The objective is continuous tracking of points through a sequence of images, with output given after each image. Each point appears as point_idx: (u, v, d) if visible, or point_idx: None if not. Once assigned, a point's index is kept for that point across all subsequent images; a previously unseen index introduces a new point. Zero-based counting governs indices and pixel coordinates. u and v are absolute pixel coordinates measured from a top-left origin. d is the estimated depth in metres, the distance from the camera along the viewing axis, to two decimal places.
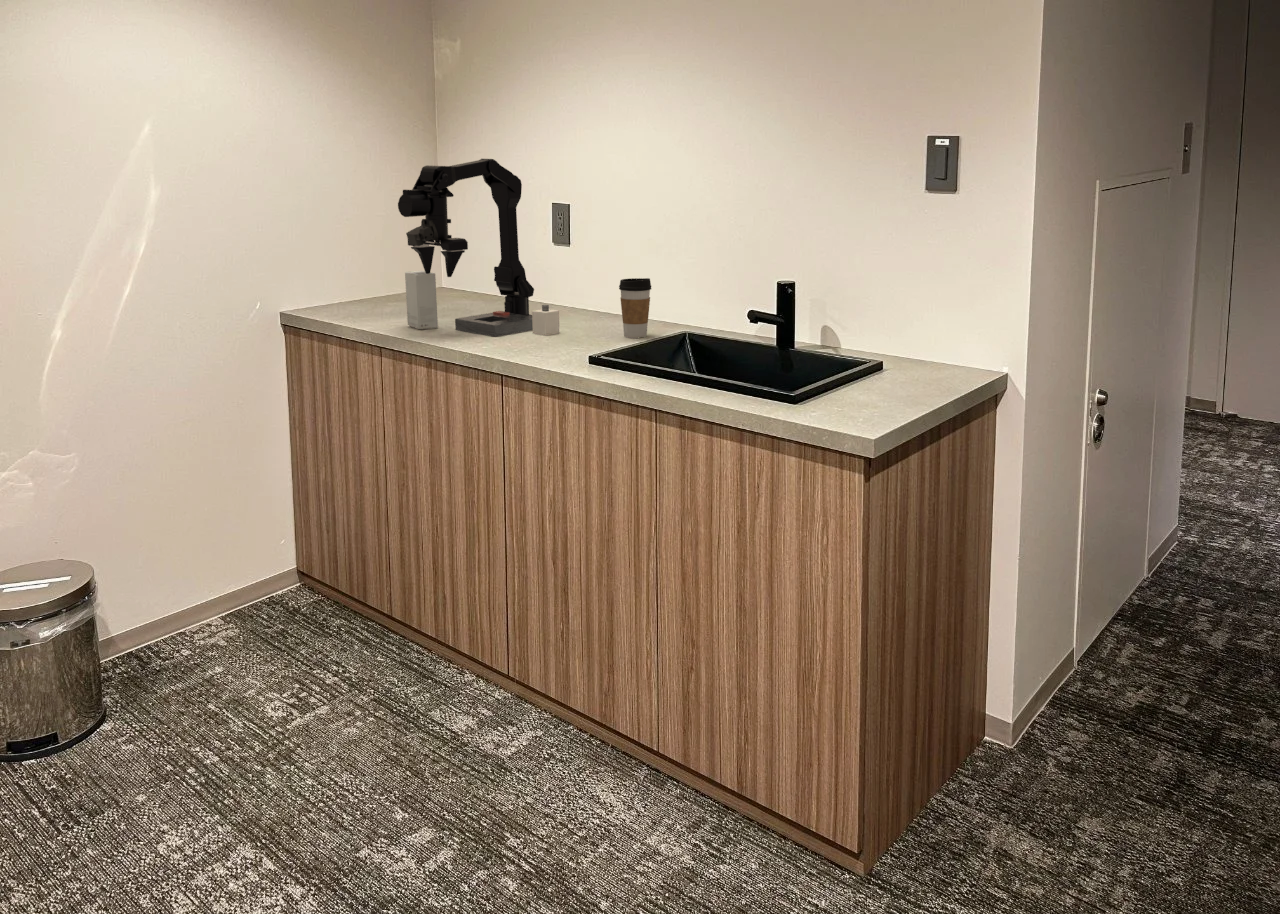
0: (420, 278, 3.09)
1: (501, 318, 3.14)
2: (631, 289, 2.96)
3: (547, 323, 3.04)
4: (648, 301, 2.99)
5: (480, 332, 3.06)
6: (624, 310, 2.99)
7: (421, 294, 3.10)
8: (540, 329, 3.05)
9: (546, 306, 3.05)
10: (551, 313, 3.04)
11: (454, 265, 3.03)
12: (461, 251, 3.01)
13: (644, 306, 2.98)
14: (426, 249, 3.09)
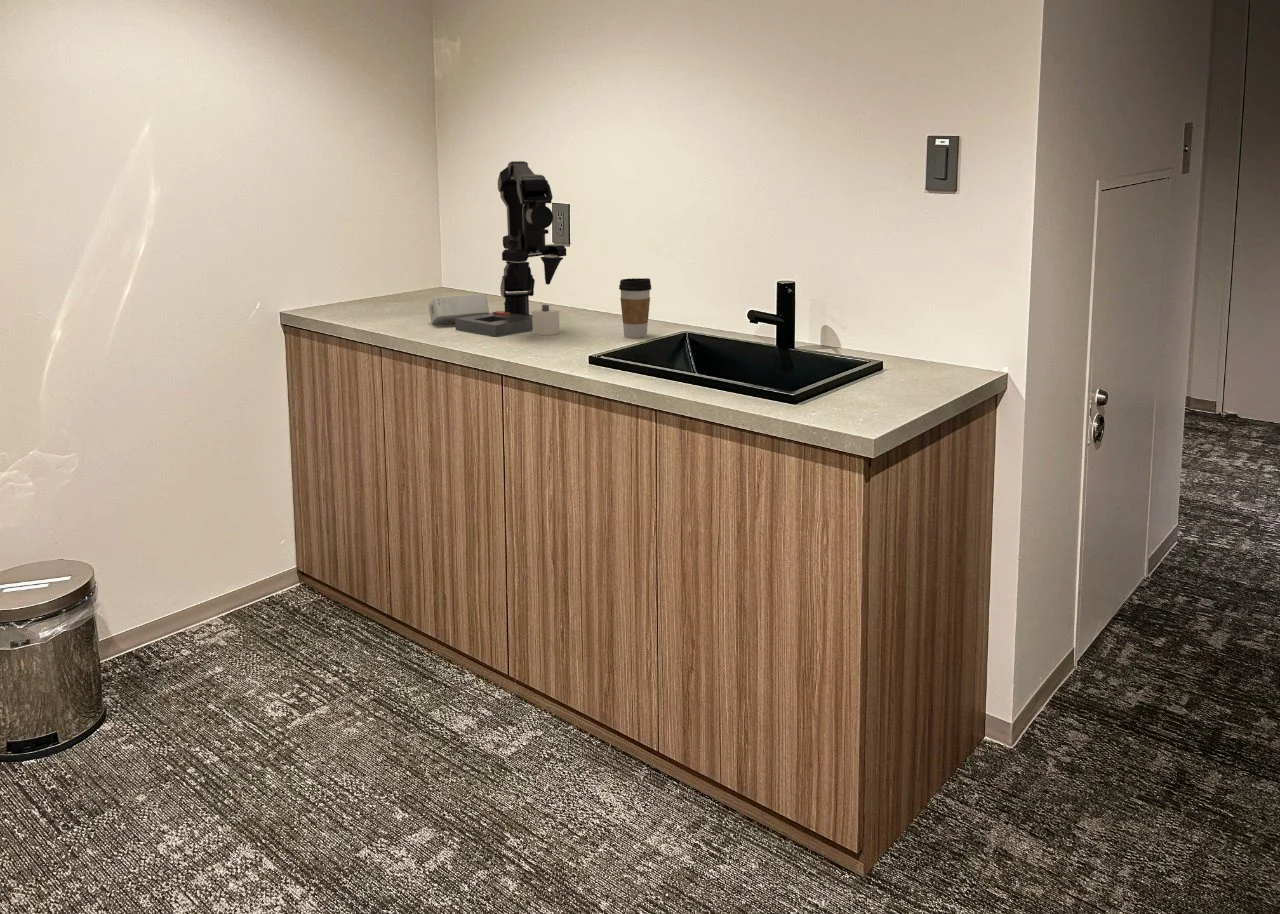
0: (482, 297, 3.20)
1: (501, 318, 3.14)
2: (631, 289, 2.96)
3: (547, 323, 3.04)
4: (648, 301, 2.99)
5: (480, 332, 3.06)
6: (624, 310, 2.99)
7: (468, 298, 3.19)
8: (540, 329, 3.05)
9: (546, 306, 3.05)
10: (551, 313, 3.04)
11: (522, 277, 2.99)
12: (517, 263, 2.96)
13: (644, 306, 2.98)
14: (548, 260, 3.06)
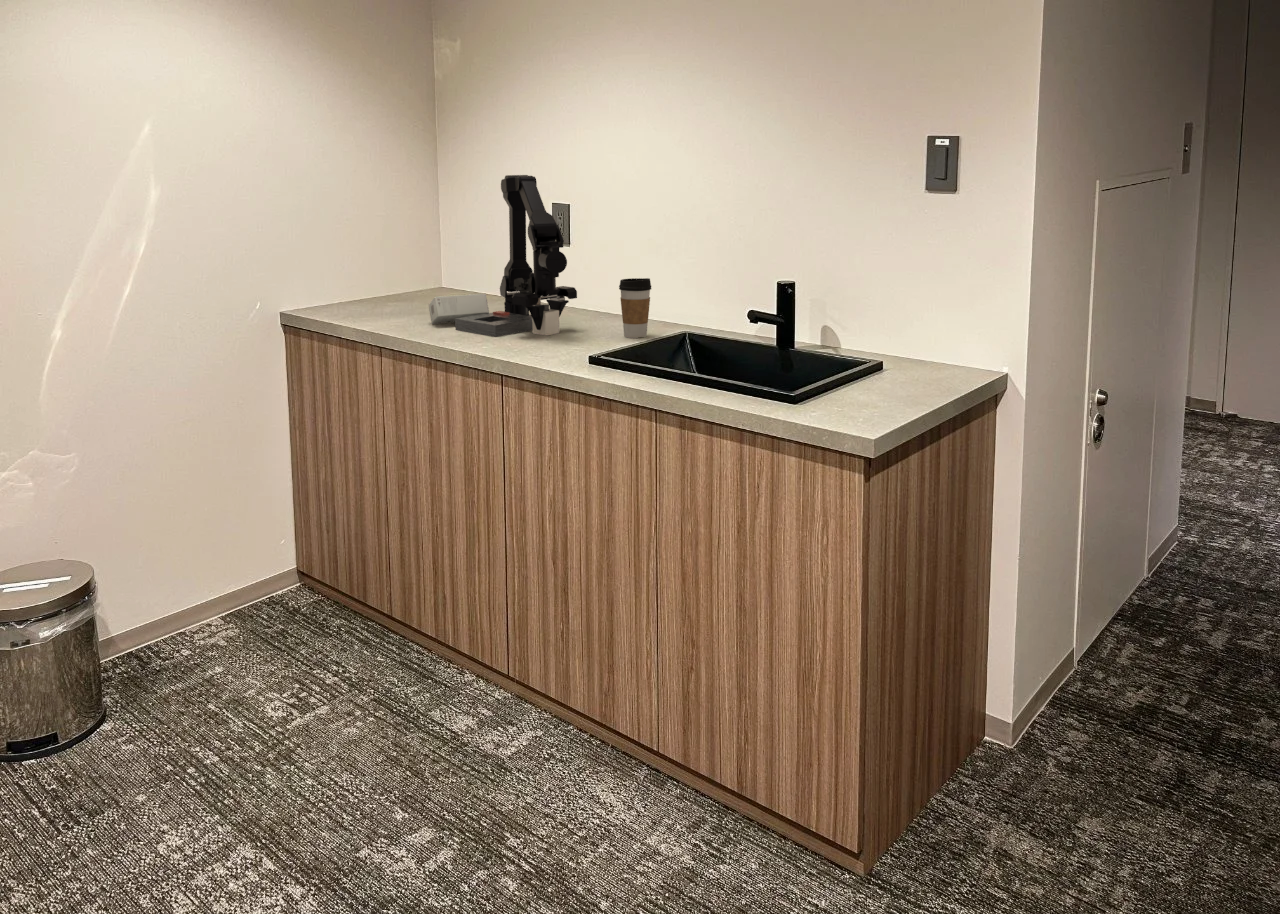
0: (482, 297, 3.20)
1: (501, 318, 3.14)
2: (631, 289, 2.96)
3: (547, 323, 3.04)
4: (648, 301, 2.99)
5: (480, 332, 3.06)
6: (624, 310, 2.99)
7: (468, 298, 3.19)
8: None
9: (546, 306, 3.05)
10: (551, 313, 3.04)
11: (538, 319, 3.03)
12: (532, 306, 3.00)
13: (644, 306, 2.98)
14: (554, 303, 3.08)
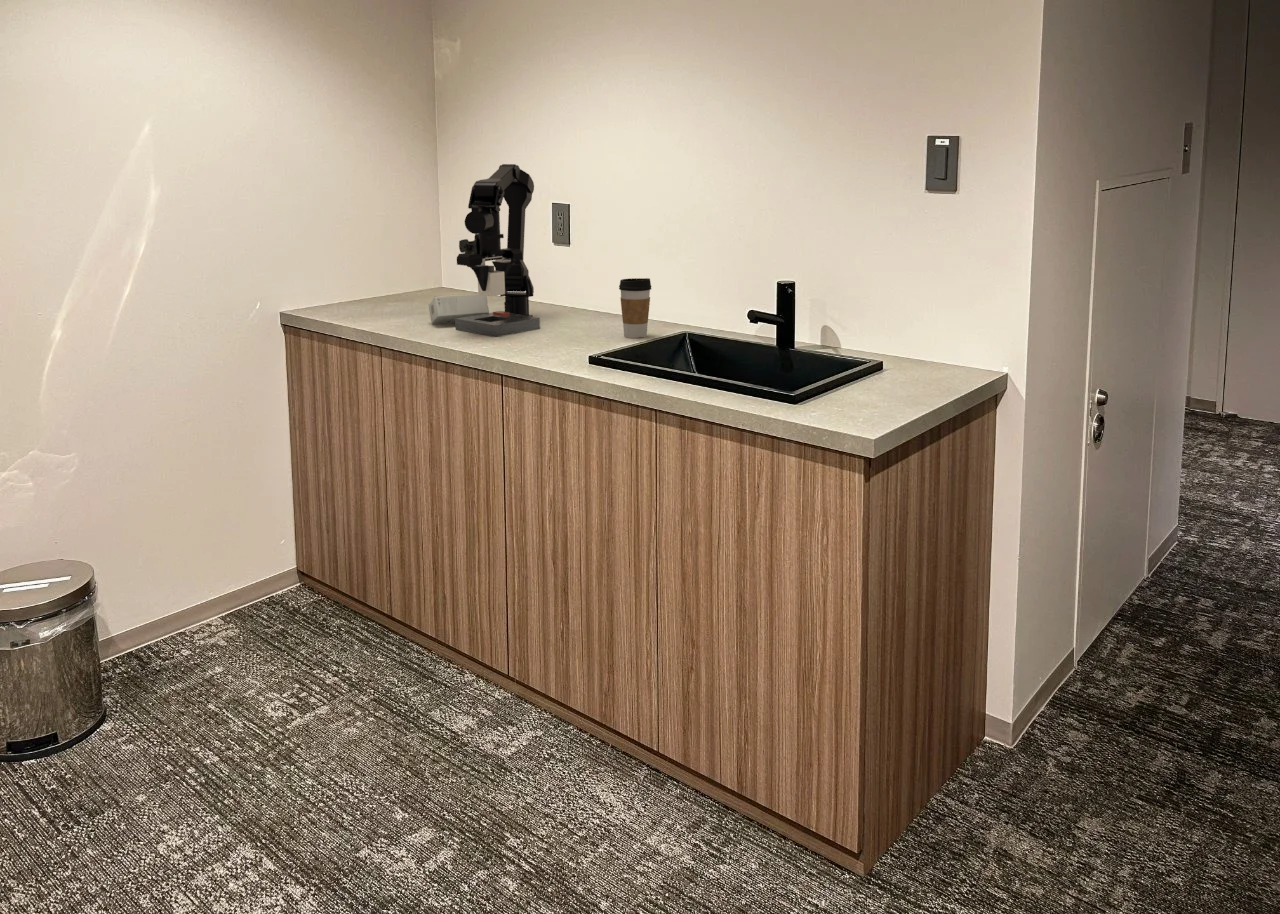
0: (482, 297, 3.20)
1: (501, 318, 3.14)
2: (631, 289, 2.96)
3: (492, 284, 3.06)
4: (648, 301, 2.99)
5: (480, 332, 3.06)
6: (624, 310, 2.99)
7: (468, 298, 3.19)
8: None
9: (491, 267, 3.06)
10: (496, 274, 3.06)
11: (482, 280, 3.05)
12: (477, 266, 3.02)
13: (644, 306, 2.98)
14: (499, 264, 3.09)
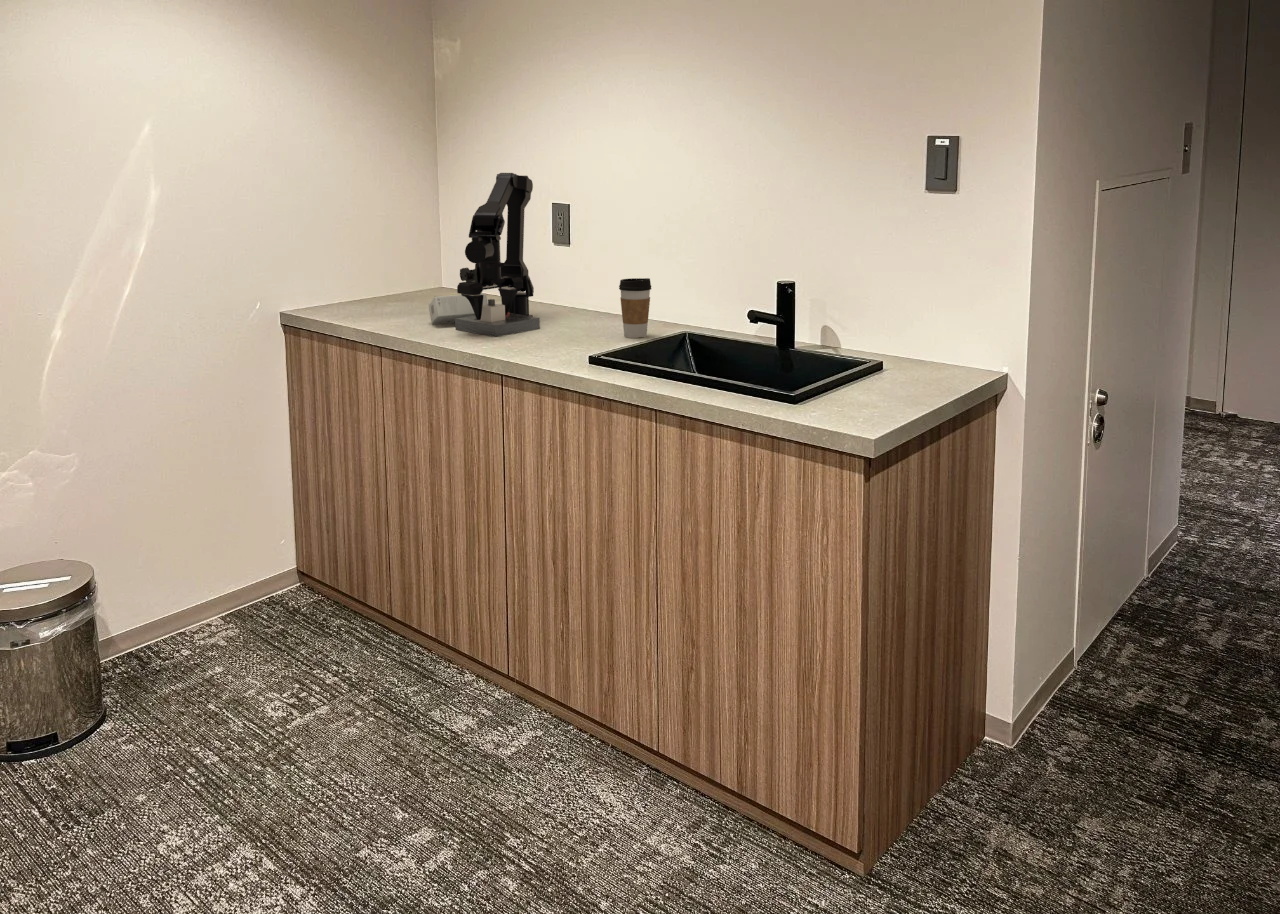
0: None
1: None
2: (631, 289, 2.96)
3: (493, 318, 3.08)
4: (648, 301, 2.99)
5: (480, 332, 3.06)
6: (624, 310, 2.99)
7: None
8: None
9: (492, 301, 3.09)
10: (497, 307, 3.08)
11: (477, 309, 3.06)
12: (471, 296, 3.02)
13: (644, 306, 2.98)
14: (505, 291, 3.13)
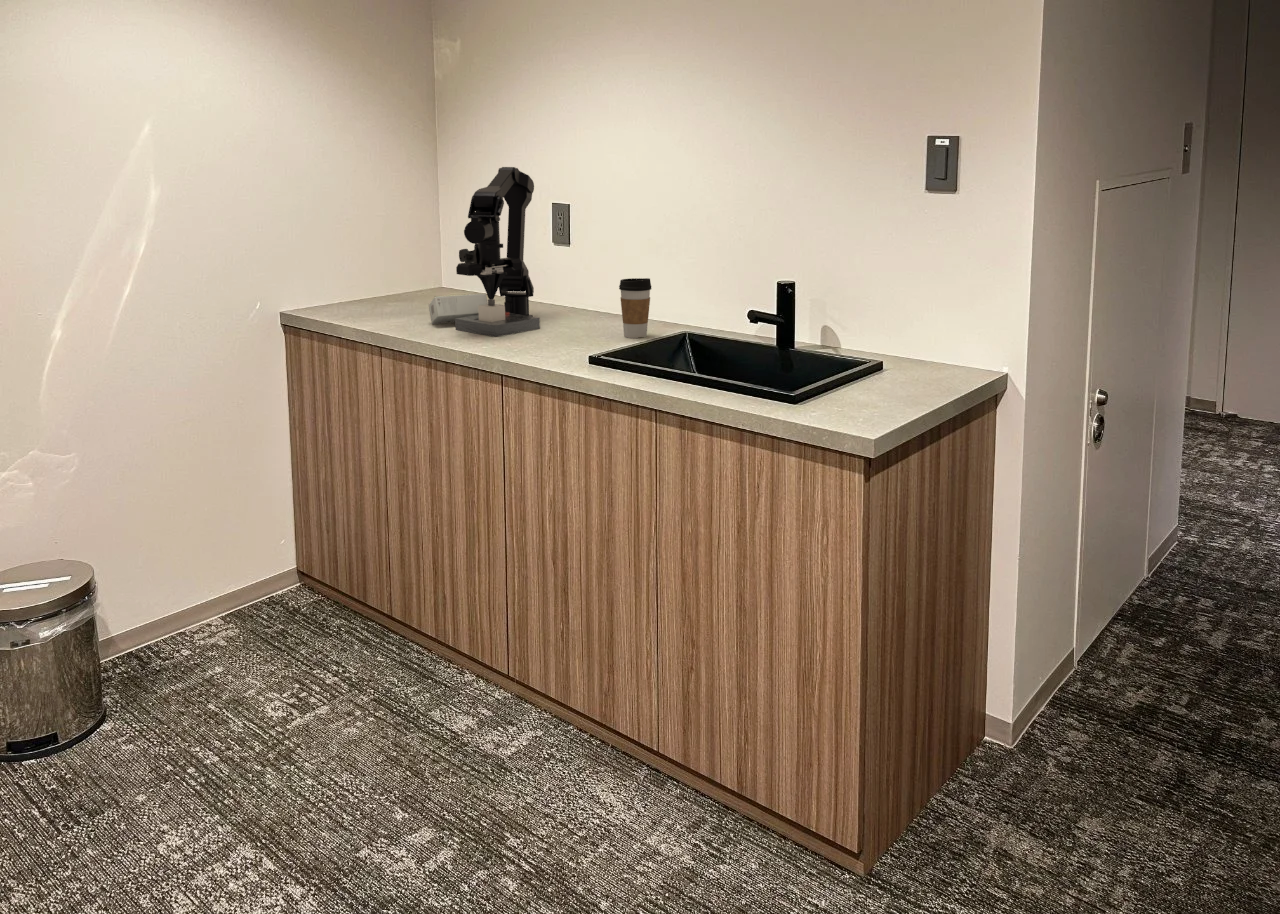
0: (482, 297, 3.20)
1: None
2: (631, 289, 2.96)
3: (493, 318, 3.08)
4: (648, 301, 2.99)
5: (480, 332, 3.06)
6: (624, 310, 2.99)
7: (468, 298, 3.19)
8: None
9: (492, 301, 3.09)
10: (497, 307, 3.08)
11: (489, 288, 3.07)
12: (483, 275, 3.04)
13: (644, 306, 2.98)
14: None
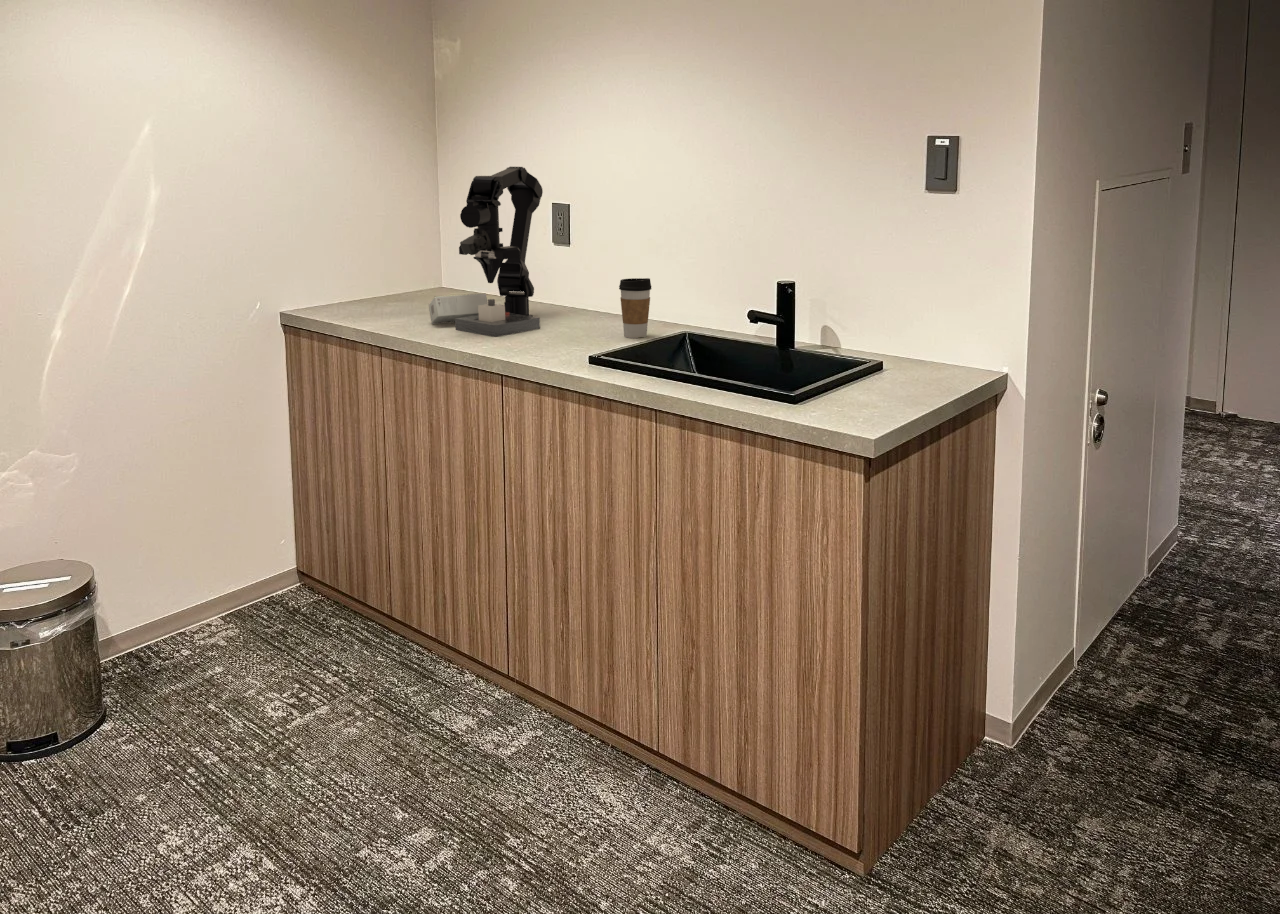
0: (482, 297, 3.20)
1: None
2: (631, 289, 2.96)
3: (493, 318, 3.08)
4: (648, 301, 2.99)
5: (480, 332, 3.06)
6: (624, 310, 2.99)
7: (468, 298, 3.19)
8: None
9: (492, 301, 3.09)
10: (497, 307, 3.08)
11: (495, 271, 3.13)
12: None
13: (644, 306, 2.98)
14: None
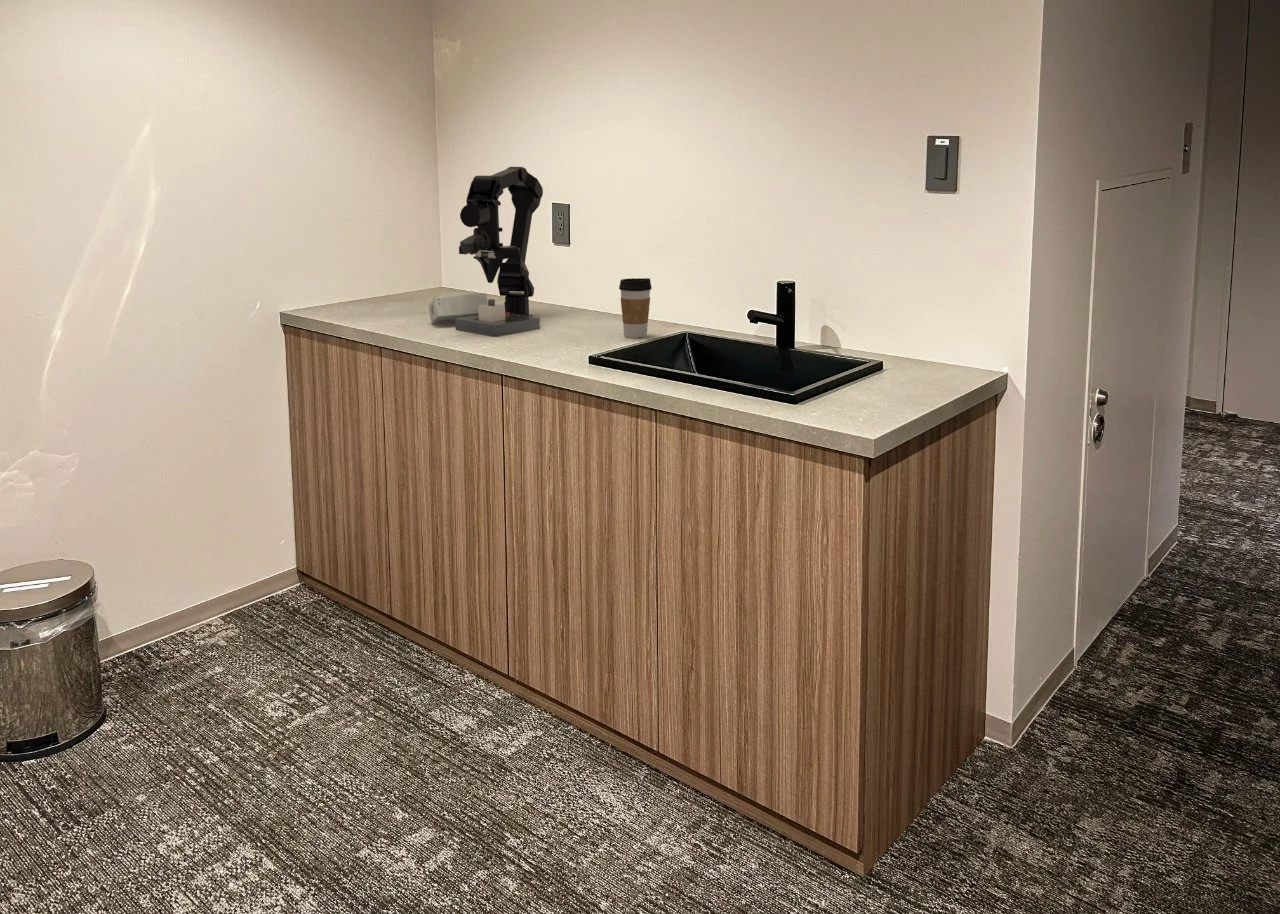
0: (482, 297, 3.20)
1: None
2: (631, 289, 2.96)
3: (493, 318, 3.08)
4: (648, 301, 2.99)
5: (480, 332, 3.06)
6: (624, 310, 2.99)
7: (468, 298, 3.19)
8: None
9: (492, 301, 3.09)
10: (497, 307, 3.08)
11: (495, 271, 3.13)
12: None
13: (644, 306, 2.98)
14: None
